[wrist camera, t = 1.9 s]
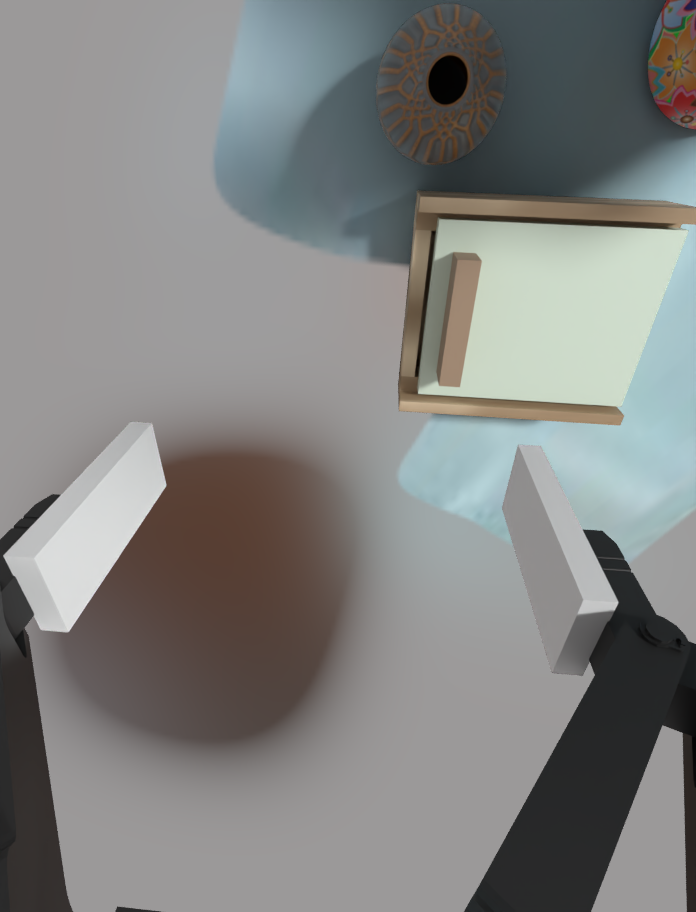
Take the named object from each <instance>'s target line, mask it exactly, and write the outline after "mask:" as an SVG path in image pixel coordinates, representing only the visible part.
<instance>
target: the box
mask: <svg viewBox="0 0 696 912" xmlns="http://www.w3.org/2000/svg"><path fill="white" fill-rule="evenodd" d="M438 217H453V218H475V219H497V220H519V221H542V222H564V223H586V224H608V225H630V226H652V227H674V228H680V227H681V225H682V224H696V207H693V206H688V205H683V204H678V203H673V202H668V201H655V200H632V199H608V198H585V197H561V196H538V195H514V194H491V193H467V192H444V191H420V190H417V197H416V207H415V217H414V227H413V238H412V248H411V258H410V269H409V279H408V290H407V300H406V311H405V320H404V331H403V342H402V351H401V361H400V372H399V383H398V393H399V411H407V412H422V413H438V414H453V415H468V416H484V417H499V418H514V419H530V420H545V421H561V422H576V423H591V424H607V425H621V422H622V420H623V417H624V415H623V414H622V413H621V411H620V410H619V409H618V408H617V407H616V406H602V405H586V404H570V403H555V402H539V401H523V400H507V399H491V398H476V397H460V396H444V395H428V394H418V389H417V385H418V377H419V369H420V360H421V352H422V344H423V336H424V327H425V319H426V311H427V303H428V294H429V286H430V278H431V270H432V261H433V253H434V245H435V237H436V228H437V220H438Z"/></svg>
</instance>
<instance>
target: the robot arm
mask: <svg viewBox="0 0 696 912" xmlns="http://www.w3.org/2000/svg"><path fill="white" fill-rule="evenodd" d="M165 487H166V482H165V477H164V473H163V469H162V464H161V460H160V455H159V451H158V447H157V442H156V438H155V434H154V429H153V426H152V423H146V422H130V423H129V424H128V425H127V426H126V427H125V428H124V429H123V430H122V432H121V433H120V434H119V435H118V436H117V437H116V438H115V439H114V440H113V441H112V442H111V443H110V444H109V445H108V446H107V448H105V449H104V450H103V451H102V453H101V454H100V455H99V456H98V457H97V458H96V459H95V460H94V461H93V462H92V463H91V464H90V465H89V466H88V467H87V468H86V469H85V470H84V471H83V472H82V474H81V475H80V476H79V477H78V478H77V479H76V480H75V481H74V482H73V483H72V484H71V485H70V486H69V487H68V488H67V489H66V490H65V491H64V492H63V493H62V495H54V494H53V495H51V496H49V497H47V498H45V499H44V500H42V501H41V502H39V503H37V504H36V505H34V507H32V508H31V509H30V510H29V511H28V513H26V514H25V515H24V518H23V519H21V520H19V521H18V522H17V523H16V524H15V525H14V528H13V529H11V530H9V531H8V532H7V533H6V534H5V535H4V537H2V538H1V539H0V912H73V911H72V908H71V906H70V903H69V899H68V896H67V891H66V886H65V879H64V872H63V865H62V858H61V852H60V846H59V838H58V831H57V825H56V818H55V811H54V805H53V798H52V791H51V784H50V777H49V770H48V764H47V757H46V750H45V743H44V736H43V730H42V723H41V716H40V711H39V710H40V709H39V703H38V696H37V689H36V682H35V676H34V669H33V662H32V655H31V649H30V642H29V636H28V634H27V632H26V630H25V626H26V625H27V624H28V622H29V621H30V620H31V618H32V617H33V616H34V617H35V619H36V621H37V623H38V625H39V627H40V629H41V630H47V631H59V632H69V631H70V629H71V628H72V626H73V625H74V623H75V622H76V620H77V619H78V617H79V616H80V614H81V612H82V611H83V610H84V608H85V607H86V605H87V604H88V602H89V601H90V599H91V598H92V596H93V595H94V593H95V592H96V590H97V589H98V587H99V586H100V584H101V583H102V581H103V580H104V578H105V577H106V575H107V574H108V572H109V571H110V569H111V568H112V566H113V565H114V563H115V562H116V560H117V559H118V557H119V556H120V554H121V553H122V551H123V550H124V548H125V547H126V545H127V544H128V542H129V541H130V539H131V538H132V536H133V535H134V533H135V532H136V530H137V529H138V527H139V526H140V524H141V523H142V521H143V520H144V518H145V517H146V515H147V514H148V512H149V511H150V509H151V508H152V506H153V505H154V503H155V502H156V500H157V499H158V497H159V496H160V494H161V493H162V491H163V490H164V488H165ZM502 510H503V513H504V516H505V520H506V523H507V526H508V529H509V533H510V536H511V539H512V543H513V546H514V549H515V553H516V556H517V559H518V562H519V566H520V569H521V573H522V576H523V579H524V582H525V586H526V589H527V592H528V596H529V599H530V602H531V605H532V609H533V612H534V615H535V619H536V622H537V625H538V629H539V632H540V635H541V638H542V642H543V645H544V649H545V652H546V655H547V658H548V662H549V665H550V669H551V672H552V673H557V674H569V675H580V676H582V675H583V674H584V672H585V670H586V668H587V666H588V664H589V662H590V663H591V666H592V668H593V671H594V674H595V676H594V678H593V680H592V682H591V683H590V685H589V687H588V689H587V691H586V693H585V694H584V696H583V698H582V700H581V702H580V703H579V705H578V707H577V709H576V711H575V713H574V714H573V716H572V718H571V720H570V722H569V723H568V725H567V727H566V729H565V731H564V733H563V734H562V736H561V738H560V740H559V742H558V743H557V745H556V747H555V749H554V751H553V753H552V755H551V756H550V758H549V760H548V762H547V764H546V765H545V767H544V769H543V771H542V773H541V774H540V776H539V778H538V780H537V782H536V783H535V786H534V787H533V789H532V791H531V792H530V794H529V796H528V798H527V800H526V802H525V803H524V805H523V807H522V809H521V811H520V812H519V814H518V816H517V818H516V820H515V822H514V823H513V825H512V827H511V829H510V831H509V832H508V834H507V836H506V838H505V840H504V842H503V844H502V845H501V847H500V849H499V851H498V852H497V854H496V856H495V858H494V860H493V862H492V864H491V865H490V867H489V869H488V871H487V872H486V874H485V876H484V878H483V880H482V881H481V883H480V885H479V887H478V889H477V891H476V892H475V894H474V895H473V897H472V899H471V900H470V902H469V904H468V906H467V907H466V909H465V911H464V912H591V910H592V907H593V904H594V902H595V900H596V897H597V894H598V892H599V889H600V887H601V884H602V881H603V879H604V876H605V874H606V871H607V868H608V866H609V863H610V861H611V858H612V855H613V853H614V850H615V847H616V845H617V842H618V840H619V837H620V834H621V832H622V829H623V826H624V824H625V821H626V819H627V816H628V814H629V811H630V808H631V806H632V803H633V800H634V798H635V795H636V793H637V790H638V787H639V785H640V782H641V780H642V777H643V774H644V772H645V769H646V767H647V764H648V761H649V759H650V756H651V753H652V751H653V748H654V746H655V743H656V740H657V738H658V735H659V732H660V730H661V727H662V725H664V726H666V727H669V728H671V729H674V730H677V731H679V732H682V733H683V764H684V805H685V848H686V893H687V912H696V644H694V643H691V642H689V641H688V640H687V638H686V636H685V635H684V634H683V632H682V631H681V630H680V629H679V628H678V627H677V626H676V625H674V624H673V623H671V622H670V621H668V620H667V619H665V618H663V617H661V616H658V615H656V613H655V611H654V610H653V608H652V606H651V604H650V602H649V601H648V599H647V597H646V595H645V594H644V592H643V590H642V588H641V587H640V585H639V583H638V581H637V580H636V578H635V576H634V574H633V573H631V569H630V567H629V565H628V563H627V562H626V561H625V560H624V556H623V554H622V553H621V551H620V549H619V547H618V546H617V544H616V543H615V542H614V541H613V540H612V539H611V538H609V537H608V536H607V535H606V534H605V533H604V532H603V531H597V530H582V528H581V526H580V524H579V521H578V519H577V517H576V515H575V513H574V511H573V509H572V507H571V505H570V503H569V501H568V499H567V497H566V495H565V493H564V491H563V489H562V487H561V485H560V483H559V481H558V479H557V477H556V475H555V473H554V471H553V469H552V467H551V465H550V463H549V461H548V459H547V457H546V455H545V453H544V451H543V449H542V447H541V446H533V445H518V447H517V451H516V455H515V459H514V463H513V467H512V471H511V475H510V479H509V482H508V486H507V490H506V494H505V498H504V502H503V506H502ZM116 912H159V911H150V910H141V909H133V908H125V907H117V909H116Z"/></svg>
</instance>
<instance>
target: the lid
mask: <svg viewBox="0 0 696 912" xmlns="http://www.w3.org/2000/svg"><path fill="white" fill-rule="evenodd" d="M688 231H689V230H685V229H681V228H674V227H652V226H630V225H608V224H586V223H564V222H542V221H519V220H497V219H475V218H453V217H438V220H437V228H436V237H435V245H434V253H433V261H432V270H431V278H430V286H429V294H428V303H427V311H426V319H425V327H424V336H423V344H422V352H421V360H420V369H419V377H418V385H417V389H418V394H428V395H444V396H460V397H476V398H491V399H507V400H523V401H539V402H555V403H570V404H586V405H602V406H618V407H621V406H622V403H623V401H624V398H625V395H626V393H627V390H628V388H629V385H630V382H631V380H632V377H633V375H634V372H635V369H636V367H637V364H638V362H639V359H640V356H641V354H642V351H643V349H644V346H645V343H646V341H647V338H648V336H649V333H650V330H651V328H652V325H653V322H654V320H655V317H656V315H657V312H658V309H659V307H660V304H661V302H662V299H663V296H664V294H665V291H666V289H667V286H668V283H669V281H670V278H671V276H672V273H673V270H674V268H675V265H676V263H677V260H678V257H679V255H680V252H681V250H682V247H683V244H684V242H685V239H686V237H687V234H688Z"/></svg>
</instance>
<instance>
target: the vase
mask: <svg viewBox="0 0 696 912" xmlns="http://www.w3.org/2000/svg"><path fill="white" fill-rule="evenodd" d="M505 88H506V61H505V56H504V51H503V48H502V45H501V42H500V40H499V38H498V36H497V34H496V32H495V30H494V29H493V27H492V26H491V25H490V23H489V22H488V21H487V20H486V19H485V18H484V17H483V16H482V15H481V14H479V13H478V12H476V11H475V10H473V9H471V8H469V7H466V6H463V5H460V4H453V3H444V4H438V5H433V6H431V7H428V8H426V9H423V10H421V11H420V12H418V13H416V14H415V15H413V16H412V17H411V18H410V19H408V20H407V21H406V22H405V23H404V24H403V25H402V26H401V27H400V28H399V29H398V31H397V32H396V33H395V35H394V36H393V38H392V39H391V41H390V42H389V44H388V46H387V48H386V50H385V52H384V55H383V57H382V60H381V63H380V66H379V70H378V75H377V82H376V106H377V112H378V116H379V120H380V123H381V126H382V128H383V131H384V133H385V135H386V136H387V138H388V140H389V141H390V143H391V144H392V145H393V146H394V147H395V149H396V150H397V151H399V152H400V153H401V154H402V155H403V156H405V157H406V158H408V159H410V160H412V161H414V162H417V163H420V164H425V165H442V164H447V163H450V162H453V161H456V160H458V159H460V158H462V157H464V156H465V155H467V154H468V153H470V152H471V151H472V150H473V149H475V148H476V147H477V146H478V145H479V144H480V143H481V142H482V141H483V139H484V138H485V137H486V136H487V134H488V133H489V131H490V130H491V128H492V126H493V125H494V123H495V121H496V119H497V117H498V114H499V112H500V109H501V106H502V103H503V99H504V94H505Z"/></svg>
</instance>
